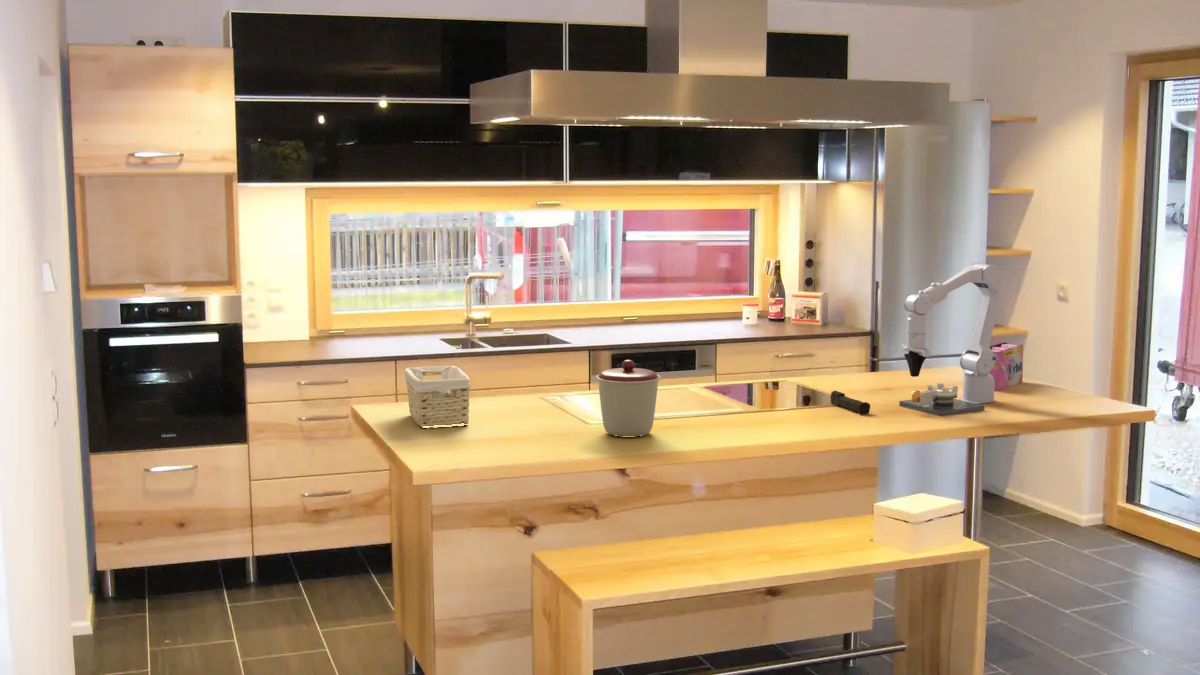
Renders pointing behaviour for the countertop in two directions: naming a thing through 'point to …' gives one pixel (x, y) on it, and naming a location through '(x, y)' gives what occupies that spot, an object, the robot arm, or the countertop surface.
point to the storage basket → (438, 395)
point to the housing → (943, 406)
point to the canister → (628, 399)
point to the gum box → (1006, 365)
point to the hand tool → (849, 403)
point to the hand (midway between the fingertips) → (914, 376)
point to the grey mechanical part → (935, 393)
